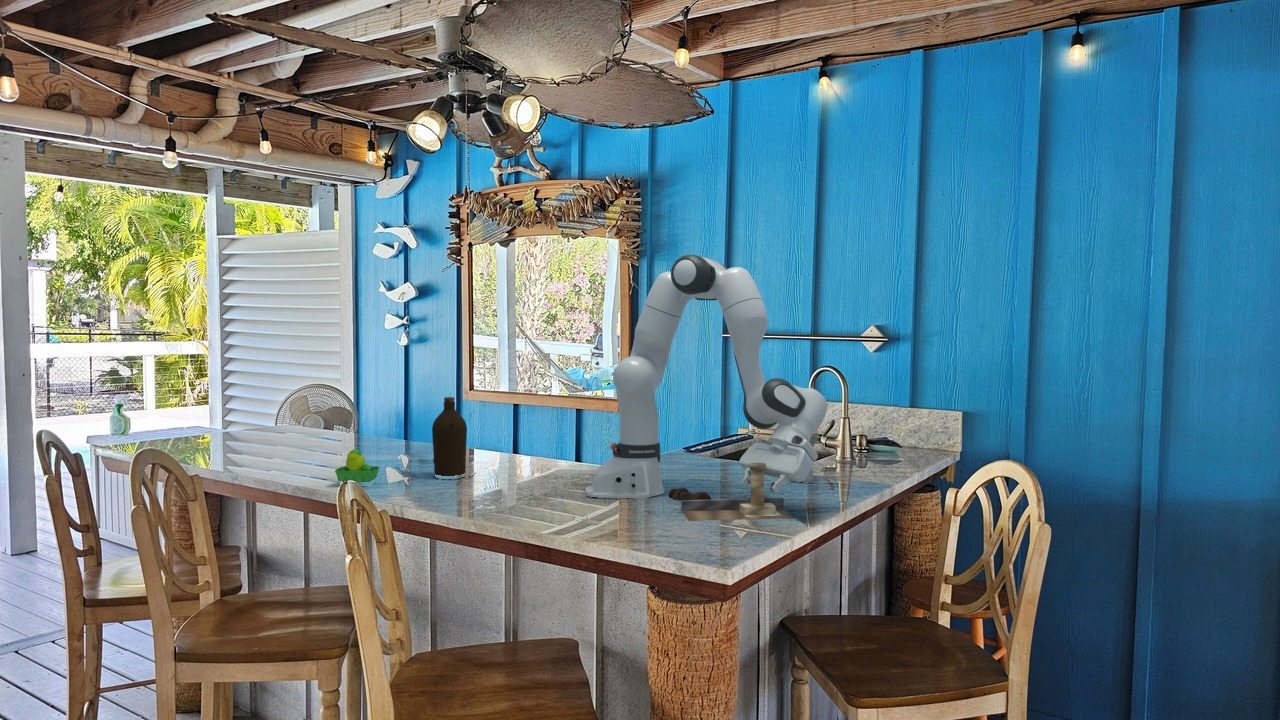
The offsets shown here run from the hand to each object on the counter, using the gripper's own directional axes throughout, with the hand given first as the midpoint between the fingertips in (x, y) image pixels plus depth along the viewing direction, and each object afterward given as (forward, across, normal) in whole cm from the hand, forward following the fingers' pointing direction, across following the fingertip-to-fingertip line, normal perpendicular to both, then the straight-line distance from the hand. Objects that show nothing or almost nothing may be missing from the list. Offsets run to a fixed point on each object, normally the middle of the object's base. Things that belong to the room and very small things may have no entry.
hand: (758, 487), depth 204 cm
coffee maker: (-26, -30, +38) cm, 55 cm away
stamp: (+5, 0, +4) cm, 6 cm away
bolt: (+9, -22, +3) cm, 24 cm away
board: (+9, -3, +2) cm, 10 cm away
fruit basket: (+52, -102, -40) cm, 121 cm away
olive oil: (+32, -97, -21) cm, 105 cm away
